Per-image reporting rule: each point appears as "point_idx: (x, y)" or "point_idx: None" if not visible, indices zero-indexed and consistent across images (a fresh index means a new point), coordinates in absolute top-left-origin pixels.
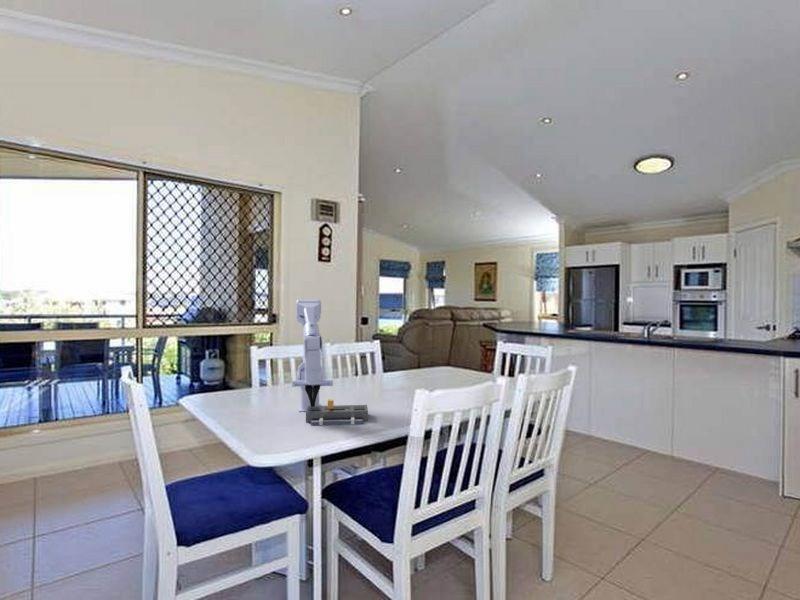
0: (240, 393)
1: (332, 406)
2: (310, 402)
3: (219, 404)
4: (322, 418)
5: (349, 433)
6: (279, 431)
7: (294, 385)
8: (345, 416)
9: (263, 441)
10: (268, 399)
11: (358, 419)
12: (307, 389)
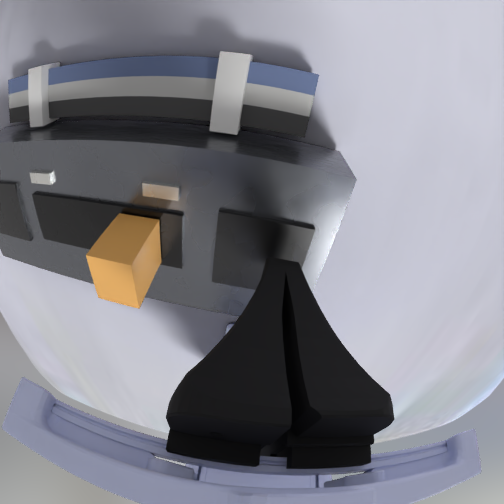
0: (390, 434)
1: (116, 224)
2: (306, 284)
3: (464, 394)
4: (216, 108)
5: None
6: (495, 62)
7: (464, 444)
8: (64, 128)
9: None
10: None
11: (21, 105)
12: (373, 408)
